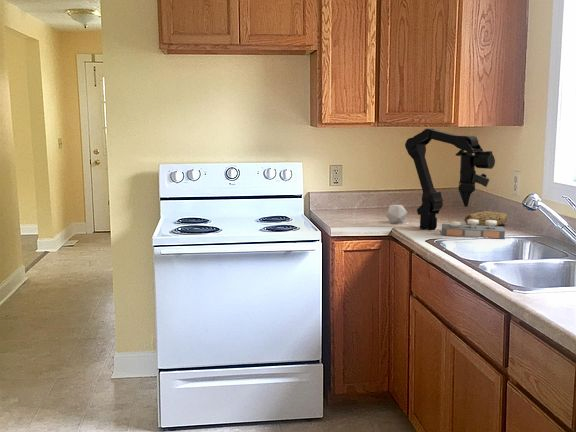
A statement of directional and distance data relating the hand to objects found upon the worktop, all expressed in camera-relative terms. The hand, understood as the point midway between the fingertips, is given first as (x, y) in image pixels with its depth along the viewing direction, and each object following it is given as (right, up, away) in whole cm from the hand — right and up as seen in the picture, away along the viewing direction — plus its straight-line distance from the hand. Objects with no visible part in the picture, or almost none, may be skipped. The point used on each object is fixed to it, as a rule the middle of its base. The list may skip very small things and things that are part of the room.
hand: (466, 206), depth 264 cm
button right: (+10, -10, -1) cm, 14 cm away
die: (-23, -7, +28) cm, 37 cm away
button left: (-4, -10, +3) cm, 11 cm away
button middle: (+3, -9, +1) cm, 10 cm away
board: (+3, -11, +1) cm, 12 cm away
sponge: (+15, -8, +23) cm, 29 cm away
